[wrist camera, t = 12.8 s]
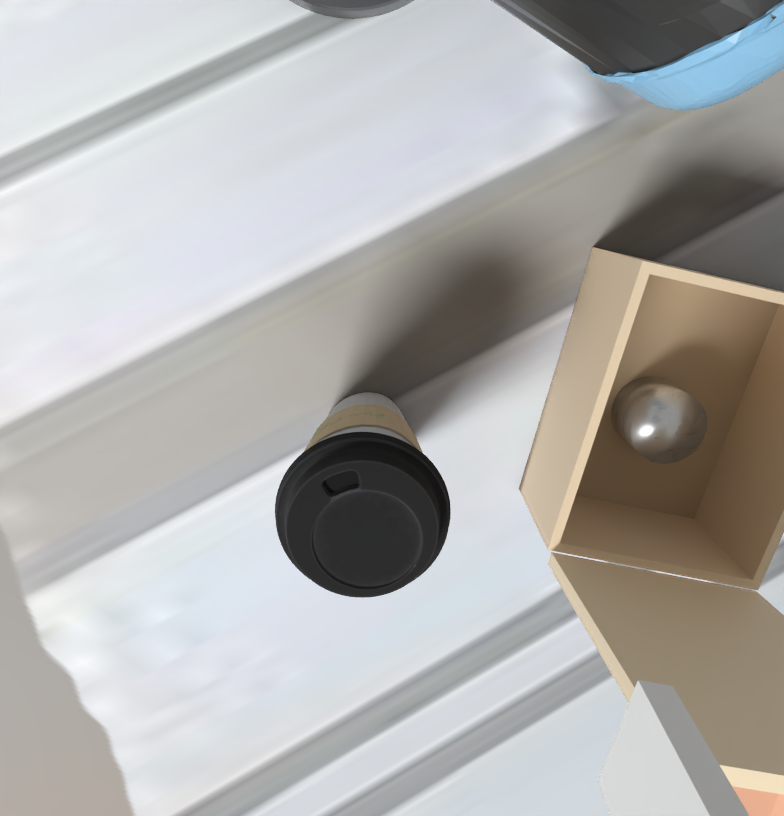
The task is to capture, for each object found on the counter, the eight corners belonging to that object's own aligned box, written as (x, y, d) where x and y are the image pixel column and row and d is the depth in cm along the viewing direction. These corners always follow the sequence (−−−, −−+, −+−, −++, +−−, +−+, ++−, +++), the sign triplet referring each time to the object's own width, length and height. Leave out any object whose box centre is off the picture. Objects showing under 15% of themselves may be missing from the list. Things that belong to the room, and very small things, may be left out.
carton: (592, 246, 45) (642, 260, 37) (787, 292, 46) (879, 315, 38) (519, 488, 51) (547, 549, 42) (695, 523, 52) (758, 590, 43)
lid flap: (677, 757, 25) (609, 945, 27) (1011, 813, 26) (923, 990, 28) (551, 552, 42) (515, 676, 44) (756, 591, 43) (712, 710, 45)
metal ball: (633, 364, 47) (656, 378, 43) (694, 393, 48) (722, 410, 44) (598, 426, 48) (617, 445, 45) (657, 454, 49) (681, 475, 45)
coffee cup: (360, 341, 47) (352, 407, 33) (459, 426, 49) (492, 523, 35) (274, 437, 49) (231, 539, 35) (372, 515, 51) (370, 641, 37)
